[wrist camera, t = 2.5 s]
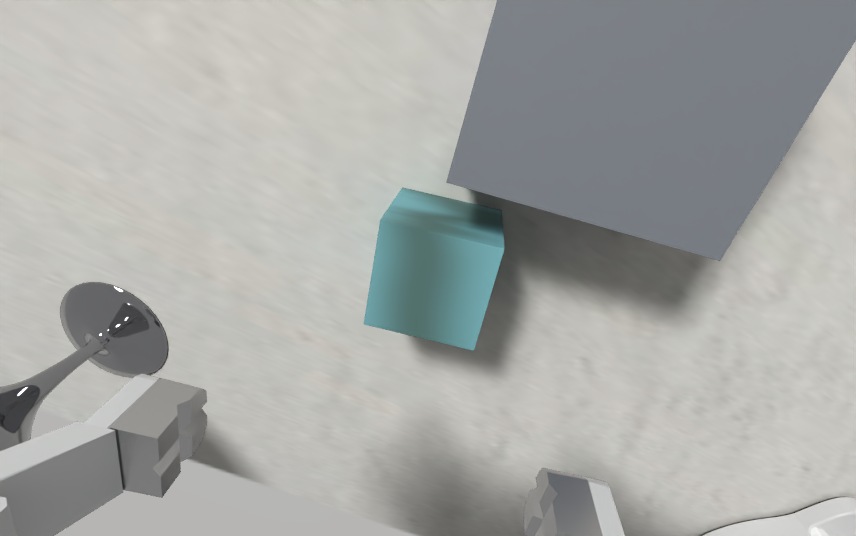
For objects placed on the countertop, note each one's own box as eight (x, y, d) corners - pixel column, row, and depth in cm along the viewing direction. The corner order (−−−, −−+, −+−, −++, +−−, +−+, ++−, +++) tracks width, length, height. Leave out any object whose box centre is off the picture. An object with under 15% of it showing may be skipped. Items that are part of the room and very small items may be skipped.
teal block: (501, 210, 22) (504, 249, 17) (476, 296, 24) (473, 350, 20) (402, 187, 22) (380, 219, 17) (387, 275, 24) (363, 324, 20)
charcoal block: (788, -37, 17) (931, -84, 11) (660, 209, 21) (719, 260, 16) (531, -110, 17) (551, -192, 11) (457, 151, 21) (446, 182, 16)
